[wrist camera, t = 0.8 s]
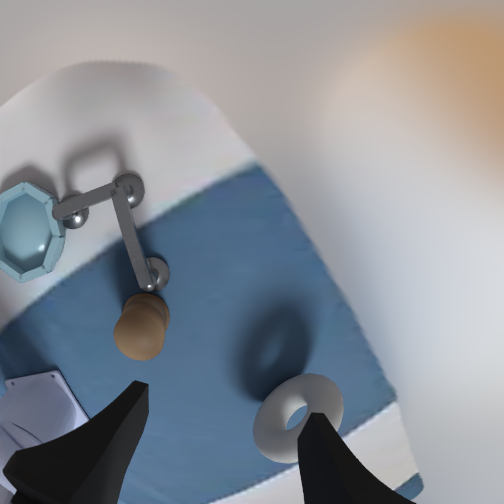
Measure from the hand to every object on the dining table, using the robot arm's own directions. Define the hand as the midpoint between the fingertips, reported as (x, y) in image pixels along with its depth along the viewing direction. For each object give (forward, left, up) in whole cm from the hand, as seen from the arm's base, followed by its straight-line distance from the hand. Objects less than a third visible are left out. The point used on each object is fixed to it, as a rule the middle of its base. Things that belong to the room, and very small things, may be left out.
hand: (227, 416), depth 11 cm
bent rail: (-6, +8, -16) cm, 19 cm away
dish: (-14, +12, -16) cm, 24 cm away
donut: (+5, -12, -16) cm, 20 cm away
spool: (-5, +1, -16) cm, 16 cm away
